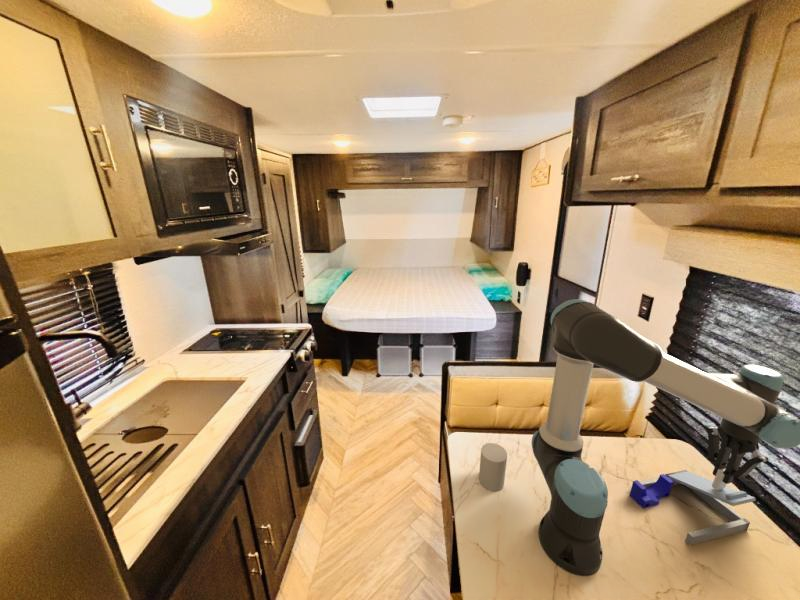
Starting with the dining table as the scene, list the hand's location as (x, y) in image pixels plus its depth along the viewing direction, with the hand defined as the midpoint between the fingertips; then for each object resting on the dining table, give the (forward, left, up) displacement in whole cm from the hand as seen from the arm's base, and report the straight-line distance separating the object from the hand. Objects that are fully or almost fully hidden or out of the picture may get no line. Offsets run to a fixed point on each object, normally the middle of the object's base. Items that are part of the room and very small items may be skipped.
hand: (717, 487), depth 90 cm
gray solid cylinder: (-59, +23, -9) cm, 64 cm away
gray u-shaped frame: (-6, +2, -9) cm, 11 cm away
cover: (0, +2, -3) cm, 3 cm away
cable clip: (-13, +7, -10) cm, 17 cm away
